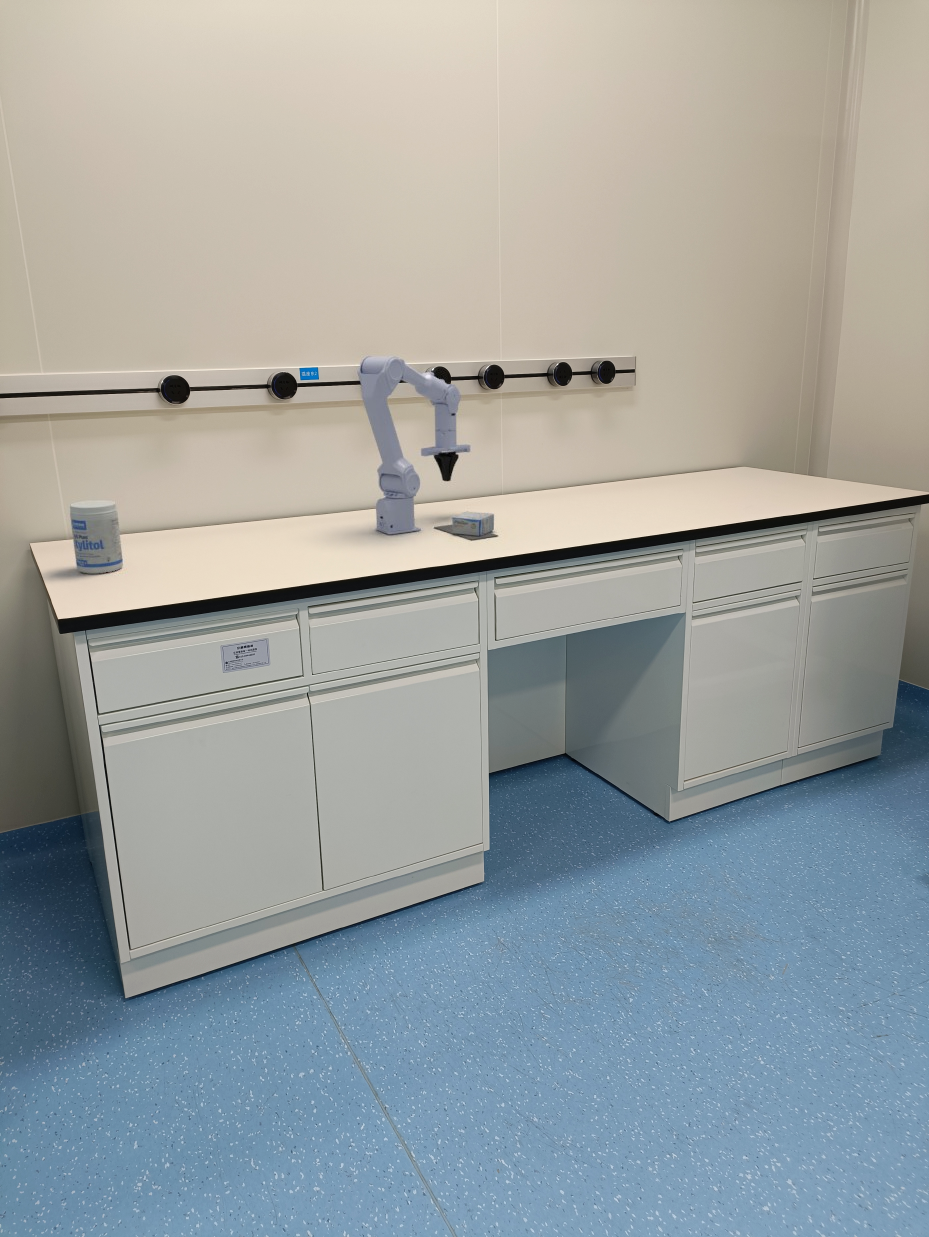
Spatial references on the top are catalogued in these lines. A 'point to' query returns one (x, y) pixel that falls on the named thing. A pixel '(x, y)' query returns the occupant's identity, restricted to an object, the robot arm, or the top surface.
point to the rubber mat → (449, 530)
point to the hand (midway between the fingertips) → (446, 480)
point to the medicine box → (473, 523)
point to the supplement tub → (96, 536)
